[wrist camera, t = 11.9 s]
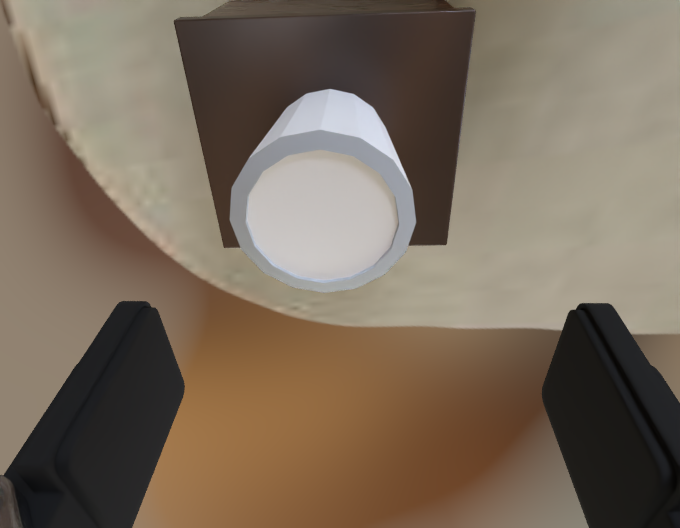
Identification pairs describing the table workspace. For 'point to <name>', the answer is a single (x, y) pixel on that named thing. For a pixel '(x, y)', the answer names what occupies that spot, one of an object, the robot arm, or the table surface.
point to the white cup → (324, 196)
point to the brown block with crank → (332, 84)
